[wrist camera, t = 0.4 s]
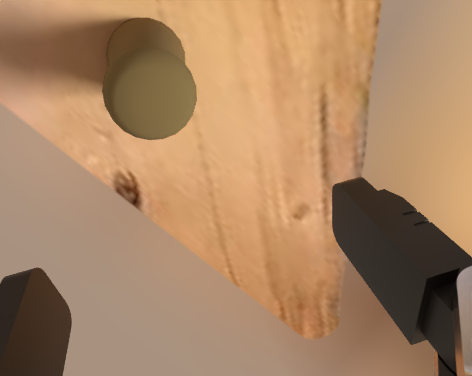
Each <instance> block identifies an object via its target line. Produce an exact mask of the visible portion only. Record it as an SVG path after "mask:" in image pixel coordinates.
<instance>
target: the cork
mask: <svg viewBox="0 0 472 376" xmlns="http://www.w3.org/2000/svg"><path fill="white" fill-rule="evenodd" d="M107 60H108V65H109V68H108V70H107V72H106V74H105V76H104V83H103V89H102V93H103V98H104V103H105V107H106V108H107V110H108V112H109V114H110V116H111V117H112V119H113V121H114V122H115V123H116V124H117V125H118V126H119V127H120V128H121V129H122V130H124V131H125V132H127V133H129V134H131V135H133V136H135V137H137V138H142V139H147V140H156V139H164V138H167V137H169V136H172V135H174V134H176V133H177V132H179V131H180V130H181V129H182V128H184V127H185V126H186V124H187V123H188V121H189V120H190V118H191V117H192V115H193V112H194V108H195V105H196V101H197V95H196V85H195V82H194V79H193V77H192V74H191V72H190V70H189V69H188V68H187V66H186V65H185V52H184V50H183V47H182V44H181V42H180V40H179V38H178V37H177V36H176V34H175V33H174V32H173V30H172V29H170V28H169V27H167V26H166V25H165V24H163V23H162V22H159V21H156V20H153V19H150V18H135V19H132V20H129V21H127V22H124V23H123V24H122V25H121V26H119V27H118V28H117V29H116V30H115V31H114V33H113V35H112V36H111V38H110V40H109V42H108V49H107Z"/></svg>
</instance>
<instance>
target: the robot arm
mask: <svg viewBox="0 0 472 376" xmlns="http://www.w3.org/2000/svg"><path fill="white" fill-rule="evenodd" d="M332 227H333V232H334V236H335V238H336V241H337V243H338V245H339V246H340V248H341V249H342V250H343V252H344V253H345V255H346V256H347V257H348V259H349V260H350V261H351V263H352V264H353V266H354V267H355V268H356V270H357V271H358V272H359V274H360V275H361V276H362V278H363V279H364V281H365V282H366V283H367V285H368V286H369V288H370V289H371V290H372V292H373V293H374V294H375V296H376V297H377V299H378V300H379V301H380V303H381V304H382V305H383V307H384V308H385V310H386V311H387V312H388V314H389V315H390V316H391V318H392V319H393V321H394V322H395V323H396V325H397V326H398V327H399V329H400V330H401V331H402V333H403V334H404V336H405V337H406V338H407V340H408V341H409V342H410V344H411V345H413V344H416V343H419V342H421V341H424V340H428V341H429V342H430V344H431V345H432V346H433V348H434V349H435V352H434V376H472V257H471V256H470V255H468V254H467V253H466V252H465V251H464V250H463V249H462V248H460V247H459V246H458V245H457V244H456V243H455V242H454V241H452V240H451V239H450V238H449V237H448V236H447V235H445V234H444V233H443V232H442V231H441V230H440V229H439V228H437V227H436V226H435V225H434V224H433V223H429V221H428V219H427V218H426V217H424V215H422V214H421V213H420V212H417V210H416V209H415V208H414V207H413V206H412V205H411V204H410V203H409V202H407V201H406V200H405V199H404V198H403V197H400V196H398V195H396V194H394V193H391V192H389V191H387V190H385V189H383V190H379V191H377V190H376V189H375V188H374V187H373V186H372V185H371V184H369V183H368V182H367V181H366V180H365V179H364V178H362V177H358V178H355V179H351V180H348V181H344V182H341V183H337V184H335V185H334V186H333V189H332ZM71 322H72V321H71V313H70V309H69V307H68V305H67V303H66V301H65V300H64V299H63V297H62V296H61V294H60V293H59V292H58V290H57V289H56V287H55V286H54V285H53V283H52V282H51V280H50V279H49V277H48V276H47V275H46V273H45V272H44V271H43V270H42V269H41V268H34V269H30V270H27V271H23V272H19V273H16V274H13V275H9V276H6V277H4V278H3V280H2V281H1V283H0V376H62V375H63V370H64V364H65V359H66V353H67V348H68V343H69V337H70V332H71V324H72V323H71Z"/></svg>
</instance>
